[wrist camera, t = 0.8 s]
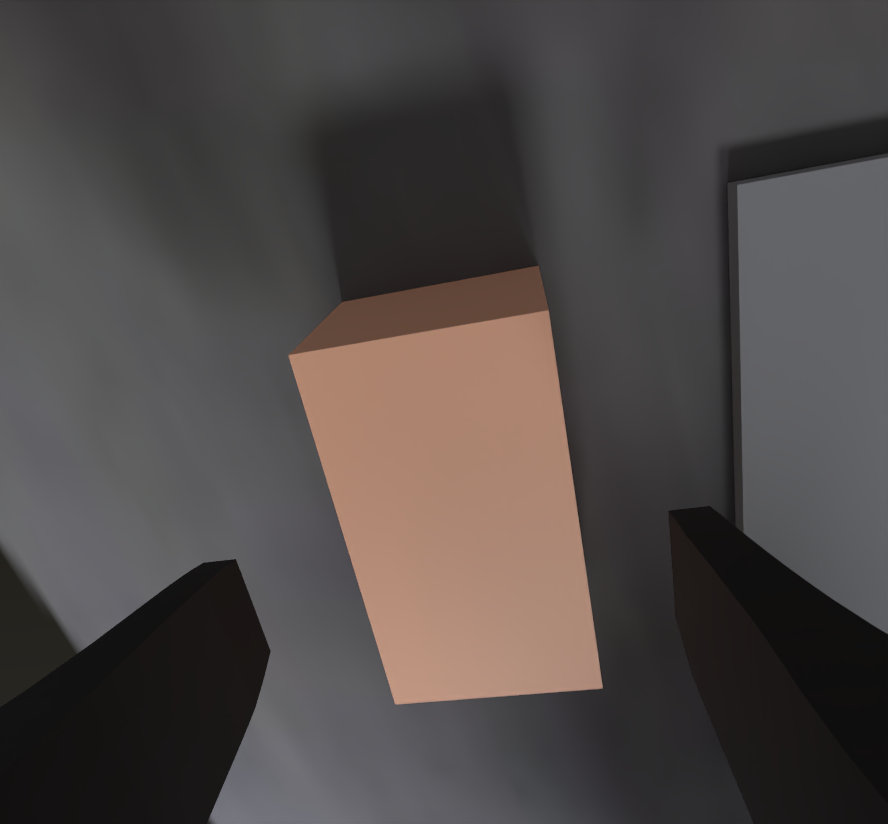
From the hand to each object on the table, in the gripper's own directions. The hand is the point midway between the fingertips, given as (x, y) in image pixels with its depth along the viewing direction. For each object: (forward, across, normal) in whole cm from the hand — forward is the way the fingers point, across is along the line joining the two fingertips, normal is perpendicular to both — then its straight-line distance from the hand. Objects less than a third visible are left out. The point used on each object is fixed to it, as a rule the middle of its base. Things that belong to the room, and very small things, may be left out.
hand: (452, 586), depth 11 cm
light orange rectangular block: (+6, 0, 0) cm, 6 cm away
